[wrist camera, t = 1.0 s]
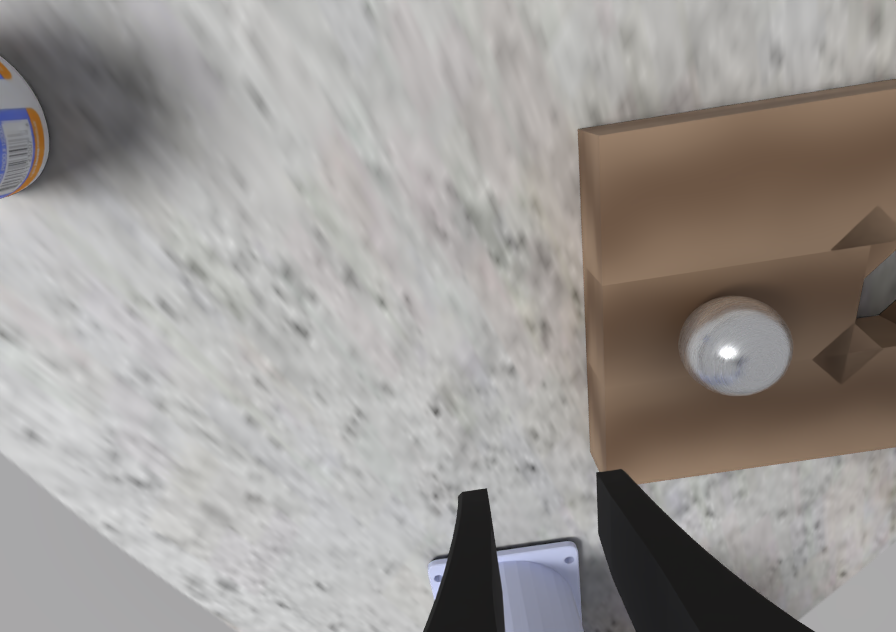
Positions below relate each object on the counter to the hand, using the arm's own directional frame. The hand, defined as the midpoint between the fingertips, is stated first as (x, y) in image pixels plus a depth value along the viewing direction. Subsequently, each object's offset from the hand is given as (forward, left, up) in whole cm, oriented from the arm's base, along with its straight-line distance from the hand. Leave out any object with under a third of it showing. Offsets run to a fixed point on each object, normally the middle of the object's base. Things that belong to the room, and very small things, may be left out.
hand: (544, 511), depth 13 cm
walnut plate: (0, -13, -10) cm, 16 cm away
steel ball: (0, -8, -6) cm, 10 cm away
